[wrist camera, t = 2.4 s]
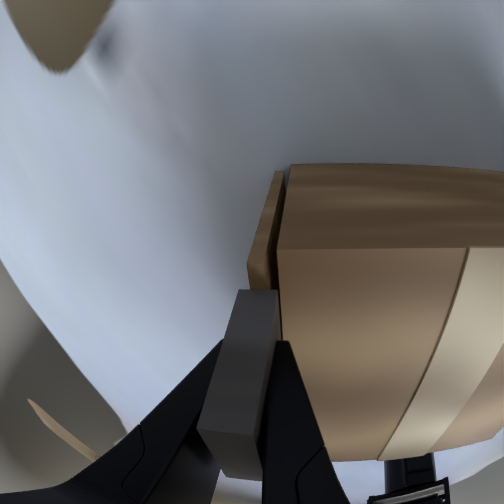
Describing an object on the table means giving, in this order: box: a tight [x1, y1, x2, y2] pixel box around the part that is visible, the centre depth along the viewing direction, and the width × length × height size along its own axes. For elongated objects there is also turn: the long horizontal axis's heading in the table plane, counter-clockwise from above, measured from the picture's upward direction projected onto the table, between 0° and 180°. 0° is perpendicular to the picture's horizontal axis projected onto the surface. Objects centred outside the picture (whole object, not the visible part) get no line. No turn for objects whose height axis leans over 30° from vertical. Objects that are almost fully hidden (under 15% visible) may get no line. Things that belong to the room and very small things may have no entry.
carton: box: [277, 164, 504, 462], centre depth 13 cm, size 14×13×8 cm
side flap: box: [196, 171, 286, 481], centre depth 13 cm, size 14×1×12 cm, turn 7°
